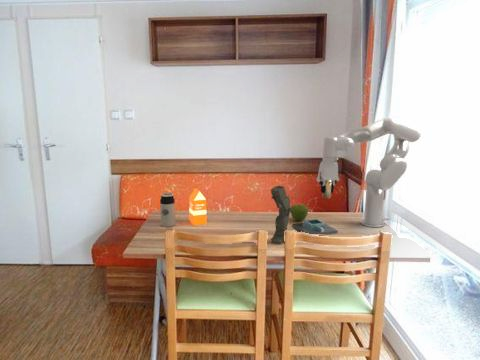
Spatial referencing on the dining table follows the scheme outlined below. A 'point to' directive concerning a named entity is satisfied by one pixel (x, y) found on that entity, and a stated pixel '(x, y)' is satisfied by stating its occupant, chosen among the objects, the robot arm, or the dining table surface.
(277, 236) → the mechanical leg
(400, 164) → the robot arm
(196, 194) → the orange juice
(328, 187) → the coupler
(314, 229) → the shaft mount
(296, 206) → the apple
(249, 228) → the dining table surface
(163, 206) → the travel mug
